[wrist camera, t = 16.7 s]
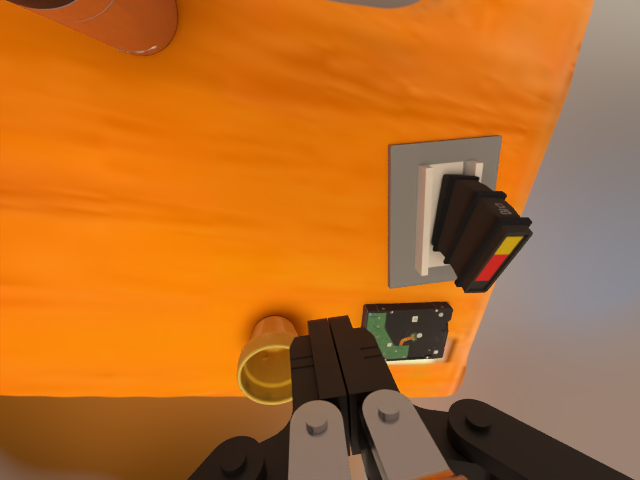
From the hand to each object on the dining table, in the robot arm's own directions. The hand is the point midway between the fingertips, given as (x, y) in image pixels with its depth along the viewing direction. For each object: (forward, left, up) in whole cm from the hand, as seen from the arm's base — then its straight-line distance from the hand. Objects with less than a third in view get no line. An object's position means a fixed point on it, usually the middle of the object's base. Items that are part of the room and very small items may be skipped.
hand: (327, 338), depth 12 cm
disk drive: (+28, +17, -36) cm, 48 cm away
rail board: (+8, +22, -35) cm, 42 cm away
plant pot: (+25, -5, -35) cm, 43 cm away
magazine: (+8, +22, -34) cm, 41 cm away
